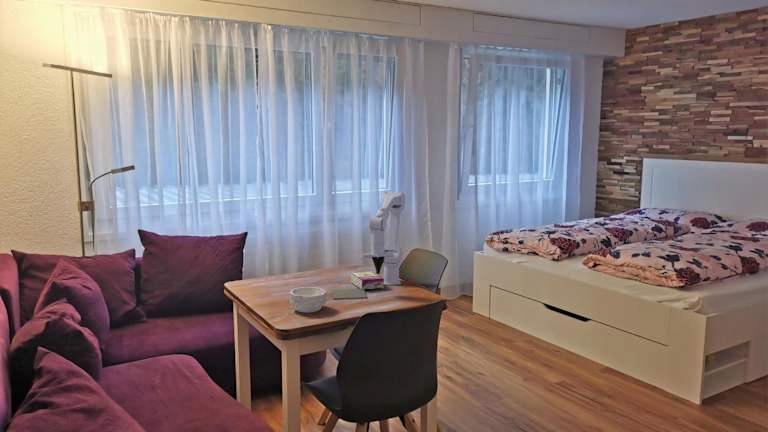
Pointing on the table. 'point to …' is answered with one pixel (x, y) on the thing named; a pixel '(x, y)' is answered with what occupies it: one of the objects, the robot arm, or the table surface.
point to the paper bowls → (308, 299)
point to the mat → (349, 294)
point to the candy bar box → (367, 280)
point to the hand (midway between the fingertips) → (378, 273)
